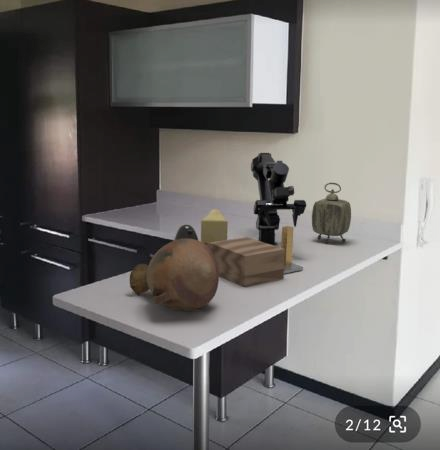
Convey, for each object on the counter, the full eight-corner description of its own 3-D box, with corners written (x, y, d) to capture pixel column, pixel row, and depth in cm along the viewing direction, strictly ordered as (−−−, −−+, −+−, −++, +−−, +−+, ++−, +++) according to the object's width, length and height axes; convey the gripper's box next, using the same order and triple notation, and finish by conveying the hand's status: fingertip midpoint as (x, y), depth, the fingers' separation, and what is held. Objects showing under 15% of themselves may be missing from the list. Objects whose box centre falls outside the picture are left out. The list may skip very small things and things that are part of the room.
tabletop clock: (349, 242, 234) (353, 183, 229) (342, 246, 226) (346, 185, 221) (316, 238, 241) (319, 180, 236) (308, 242, 233) (311, 182, 228)
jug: (232, 313, 152) (166, 302, 174) (236, 240, 153) (169, 239, 175) (173, 315, 138) (109, 303, 161) (177, 236, 139) (113, 235, 162)
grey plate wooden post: (242, 282, 178) (244, 239, 175) (219, 272, 188) (220, 231, 185) (303, 269, 192) (305, 229, 189) (278, 260, 203) (279, 223, 200)
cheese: (203, 244, 227) (203, 207, 224) (227, 244, 227) (227, 208, 224) (200, 258, 206) (200, 218, 202) (226, 259, 205) (227, 219, 202)
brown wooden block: (208, 271, 190) (209, 242, 188) (246, 264, 199) (246, 236, 197) (244, 287, 174) (245, 255, 172) (283, 278, 183) (284, 249, 181)
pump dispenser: (178, 273, 187) (178, 228, 184) (166, 265, 196) (166, 222, 193) (206, 269, 192) (206, 226, 189) (193, 262, 201) (193, 220, 198)
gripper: (255, 178, 201) (260, 213, 193) (306, 178, 204) (313, 213, 195) (251, 196, 211) (255, 231, 202) (299, 196, 213) (306, 230, 204)
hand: (282, 226), depth 201 cm, fingers open, 9 cm apart
